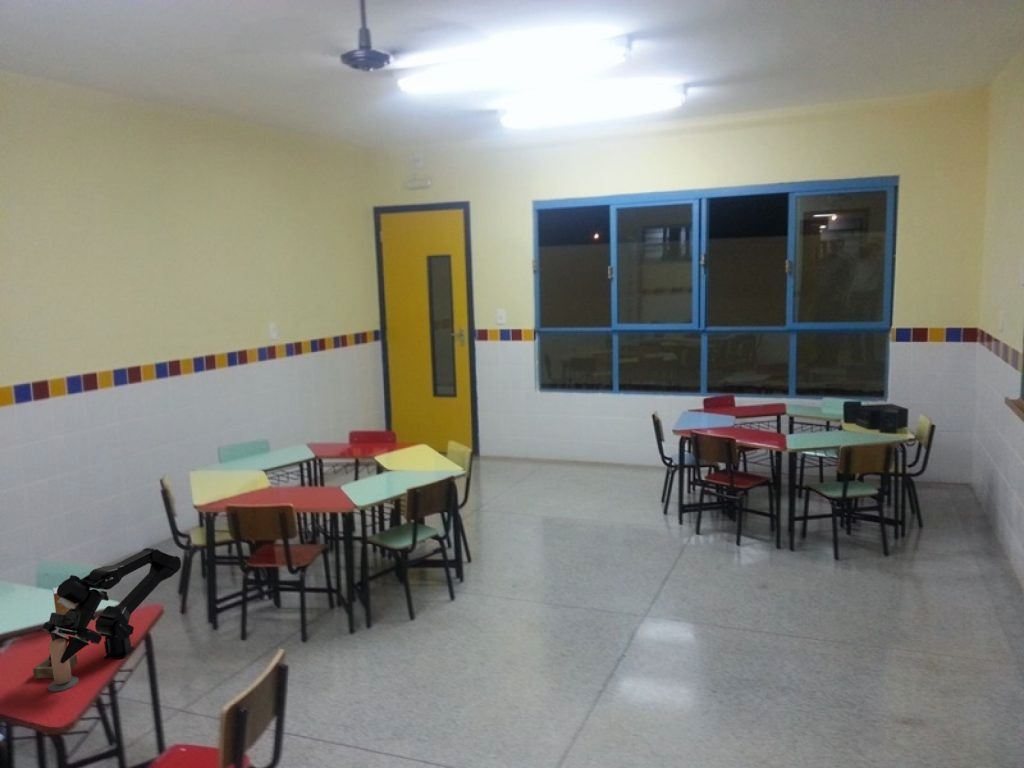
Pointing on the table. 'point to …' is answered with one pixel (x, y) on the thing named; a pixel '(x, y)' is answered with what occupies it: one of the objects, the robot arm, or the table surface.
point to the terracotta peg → (59, 669)
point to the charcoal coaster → (63, 685)
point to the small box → (61, 603)
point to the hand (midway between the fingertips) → (55, 661)
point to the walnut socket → (50, 668)
